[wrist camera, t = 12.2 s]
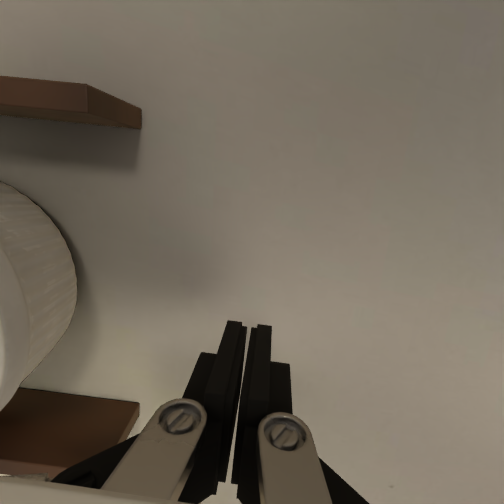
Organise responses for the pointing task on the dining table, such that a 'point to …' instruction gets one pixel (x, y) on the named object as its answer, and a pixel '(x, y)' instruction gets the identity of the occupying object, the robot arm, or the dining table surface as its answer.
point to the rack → (50, 403)
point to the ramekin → (30, 288)
